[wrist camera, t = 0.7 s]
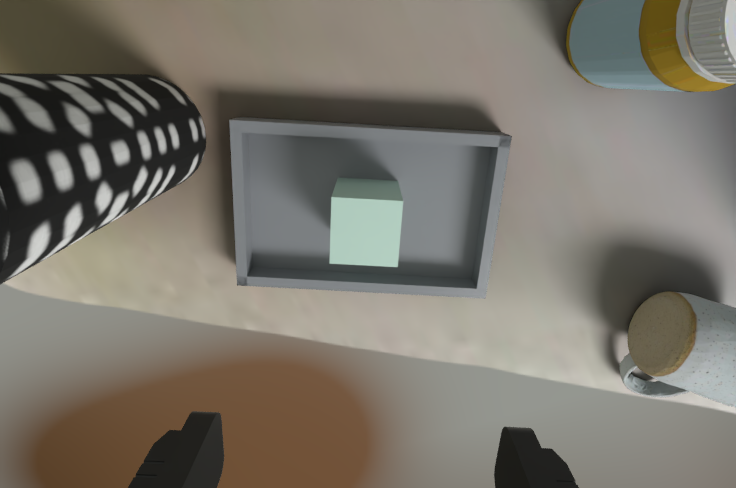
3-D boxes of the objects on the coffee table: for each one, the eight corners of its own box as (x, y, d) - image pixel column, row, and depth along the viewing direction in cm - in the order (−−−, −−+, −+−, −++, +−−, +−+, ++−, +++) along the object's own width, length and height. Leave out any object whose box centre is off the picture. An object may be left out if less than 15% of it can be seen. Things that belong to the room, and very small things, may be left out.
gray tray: (501, 132, 34) (511, 136, 32) (478, 284, 38) (485, 298, 36) (239, 116, 34) (229, 119, 32) (245, 272, 38) (237, 285, 36)
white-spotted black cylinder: (191, 67, 33) (-52, 56, 14) (217, 181, 36) (45, 299, 17) (78, 81, 33) (-305, 88, 14) (113, 193, 36) (-168, 320, 17)
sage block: (398, 180, 35) (403, 201, 29) (393, 237, 36) (397, 267, 31) (337, 177, 35) (331, 197, 29) (335, 234, 36) (329, 263, 31)
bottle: (588, -37, 30) (777, -135, 16) (683, -5, 31) (944, -73, 17) (546, 71, 33) (679, 67, 19) (635, 99, 33) (829, 115, 19)
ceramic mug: (649, 271, 38) (713, 319, 31) (736, 297, 39) (818, 349, 32) (591, 372, 42) (636, 436, 35) (671, 394, 42) (731, 460, 35)
